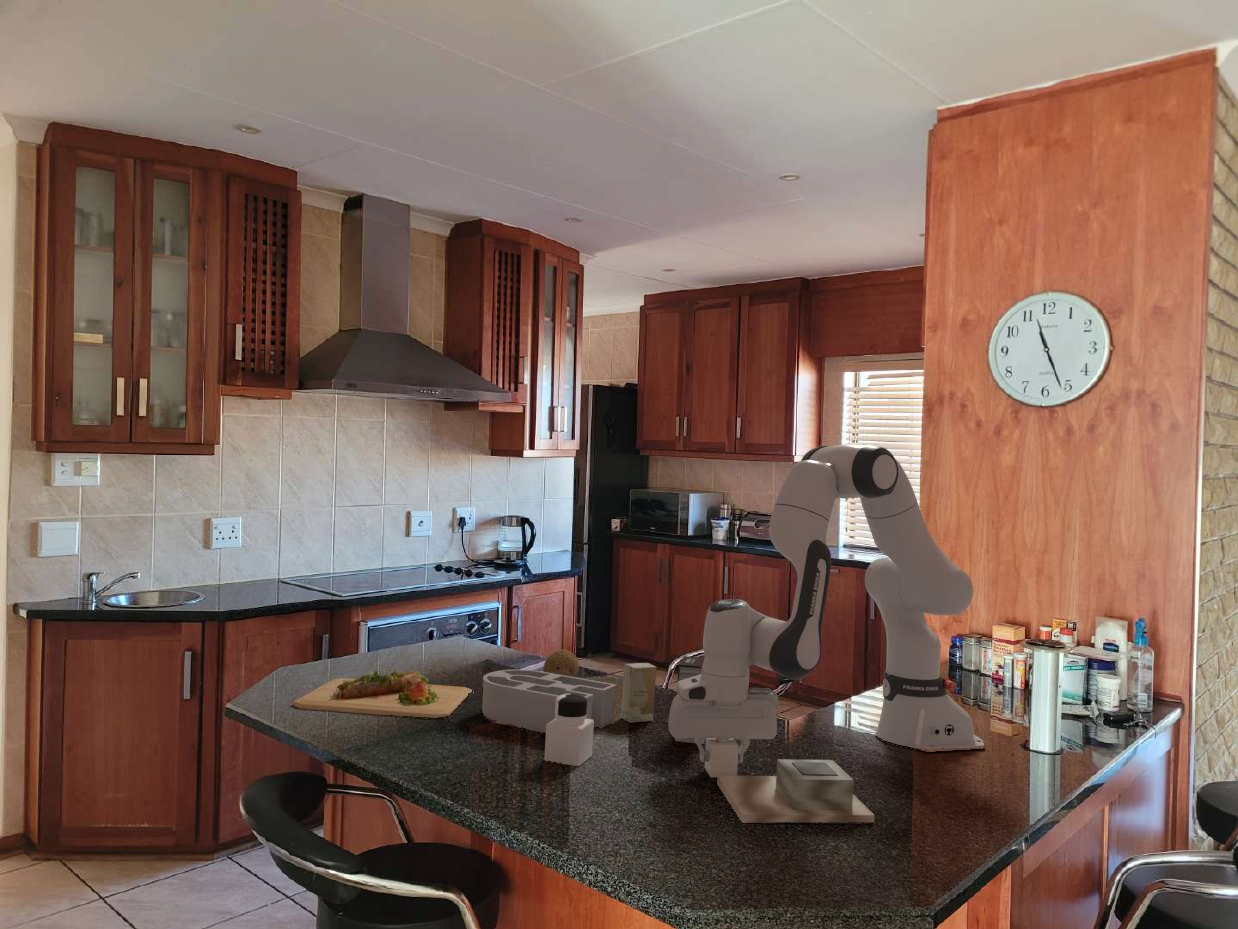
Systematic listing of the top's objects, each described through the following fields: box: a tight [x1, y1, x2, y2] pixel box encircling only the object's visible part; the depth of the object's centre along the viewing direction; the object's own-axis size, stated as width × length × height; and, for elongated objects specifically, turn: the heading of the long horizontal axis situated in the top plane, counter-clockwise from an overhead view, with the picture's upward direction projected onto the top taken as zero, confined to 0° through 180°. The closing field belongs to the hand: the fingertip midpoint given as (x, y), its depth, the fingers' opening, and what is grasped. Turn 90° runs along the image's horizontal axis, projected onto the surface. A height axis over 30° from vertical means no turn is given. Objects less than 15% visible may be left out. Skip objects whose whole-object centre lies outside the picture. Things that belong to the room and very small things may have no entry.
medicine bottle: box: [544, 694, 595, 767], centre depth 172 cm, size 7×7×12 cm
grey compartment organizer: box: [481, 669, 617, 733], centre depth 197 cm, size 17×28×9 cm, turn 63°
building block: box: [704, 738, 739, 778], centre depth 169 cm, size 5×5×7 cm
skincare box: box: [620, 662, 657, 724], centre depth 201 cm, size 6×4×12 cm
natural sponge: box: [542, 649, 580, 678], centre depth 224 cm, size 9×9×10 cm
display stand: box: [716, 758, 875, 824], centre depth 155 cm, size 22×18×7 cm
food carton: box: [674, 655, 706, 744], centre depth 191 cm, size 9×6×16 cm
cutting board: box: [293, 669, 473, 718], centre depth 207 cm, size 35×23×8 cm
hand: (721, 761), depth 169 cm, fingers closed on building block, 5 cm apart
